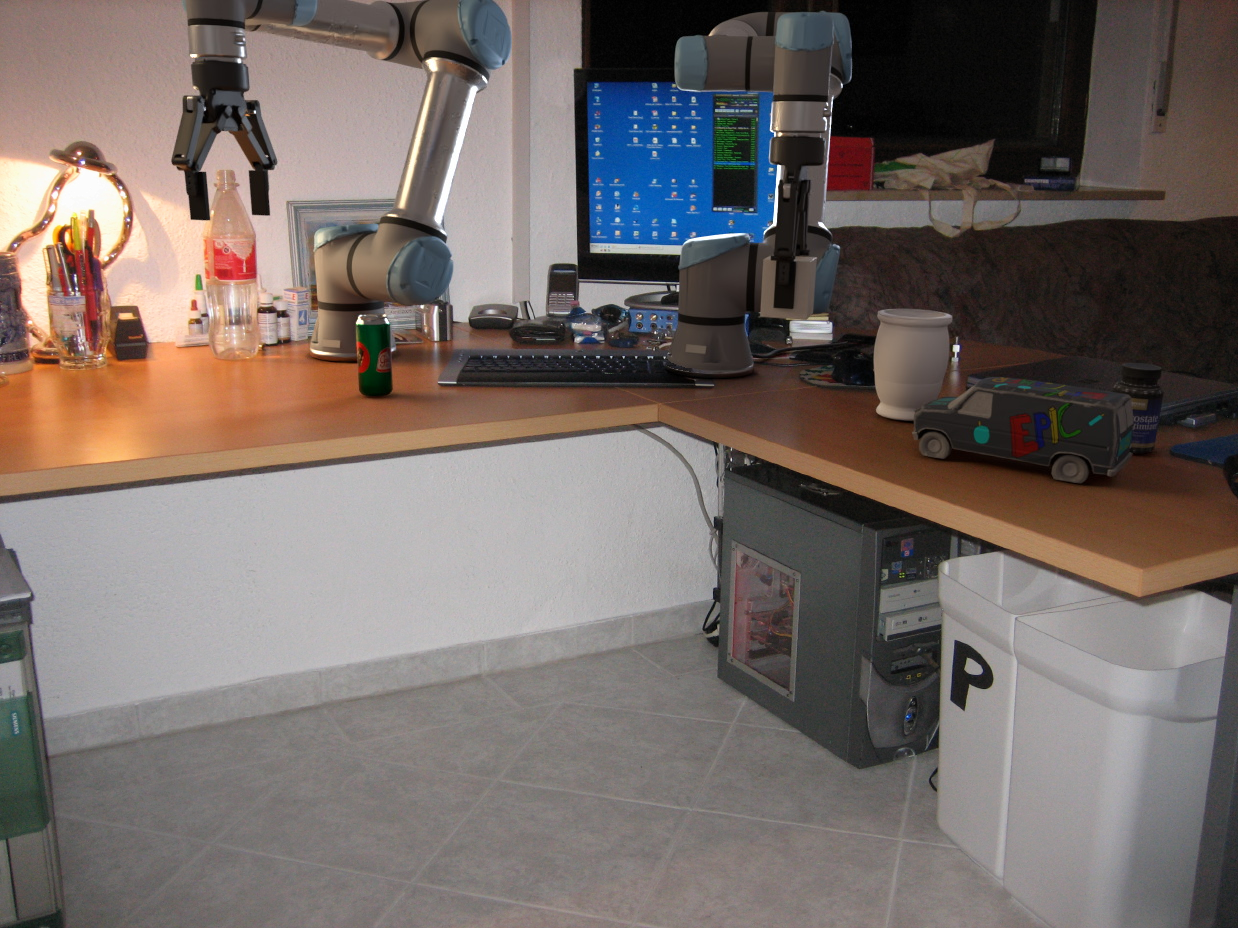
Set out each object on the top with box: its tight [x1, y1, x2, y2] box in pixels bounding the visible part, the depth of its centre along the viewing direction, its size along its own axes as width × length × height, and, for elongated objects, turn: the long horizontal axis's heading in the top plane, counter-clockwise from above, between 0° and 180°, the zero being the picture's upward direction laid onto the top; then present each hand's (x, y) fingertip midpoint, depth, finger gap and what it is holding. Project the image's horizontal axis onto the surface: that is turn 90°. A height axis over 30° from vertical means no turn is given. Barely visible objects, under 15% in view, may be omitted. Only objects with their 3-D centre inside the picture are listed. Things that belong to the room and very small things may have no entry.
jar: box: [873, 308, 953, 422], centre depth 154 cm, size 11×10×15 cm
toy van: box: [911, 376, 1135, 484], centre depth 132 cm, size 11×25×10 cm, turn 54°
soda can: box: [356, 313, 394, 398], centre depth 162 cm, size 5×5×12 cm
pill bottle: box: [1111, 362, 1165, 455], centre depth 139 cm, size 6×6×11 cm
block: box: [759, 256, 817, 321], centre depth 152 cm, size 6×7×8 cm
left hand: (232, 218), depth 155 cm, fingers open, 13 cm apart
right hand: (787, 304), depth 153 cm, fingers closed on block, 6 cm apart
